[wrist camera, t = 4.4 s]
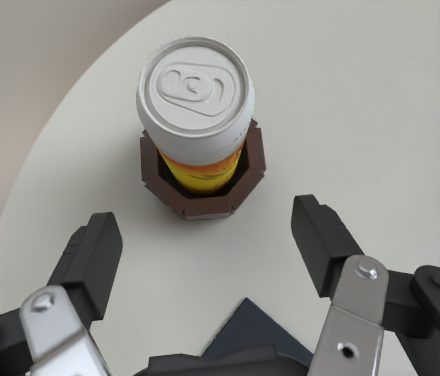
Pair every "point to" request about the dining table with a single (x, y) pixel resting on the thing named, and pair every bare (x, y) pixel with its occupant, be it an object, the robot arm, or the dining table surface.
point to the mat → (255, 335)
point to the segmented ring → (211, 206)
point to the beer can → (196, 110)
